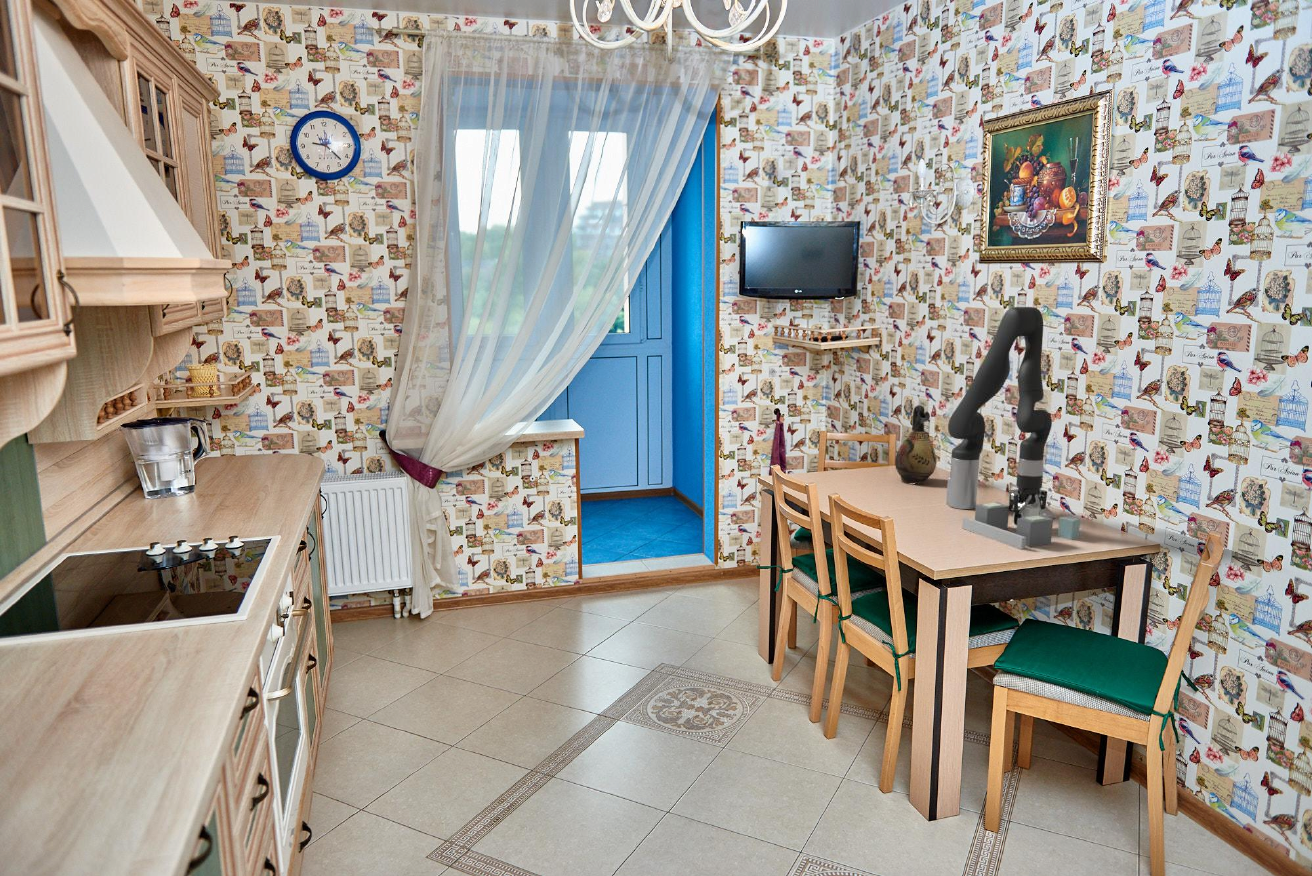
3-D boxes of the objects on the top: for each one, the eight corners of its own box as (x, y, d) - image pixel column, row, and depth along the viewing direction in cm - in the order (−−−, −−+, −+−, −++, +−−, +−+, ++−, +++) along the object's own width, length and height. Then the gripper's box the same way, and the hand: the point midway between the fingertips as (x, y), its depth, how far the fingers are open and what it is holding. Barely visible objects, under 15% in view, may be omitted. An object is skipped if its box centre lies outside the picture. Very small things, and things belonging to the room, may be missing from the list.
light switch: (1039, 516, 288) (1010, 488, 298) (1031, 530, 291) (1002, 501, 301) (1057, 514, 291) (1028, 485, 302) (1049, 527, 295) (1020, 498, 305)
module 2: (1057, 536, 272) (1059, 517, 271) (1064, 534, 274) (1066, 515, 273) (1071, 540, 268) (1072, 520, 267) (1078, 537, 270) (1080, 519, 269)
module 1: (1012, 526, 283) (1014, 504, 282) (1023, 524, 285) (1024, 502, 283) (1027, 531, 277) (1029, 508, 276) (1037, 529, 279) (1039, 507, 278)
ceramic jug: (940, 486, 338) (945, 409, 332) (899, 486, 338) (904, 408, 333) (927, 476, 354) (931, 402, 349) (888, 476, 354) (892, 402, 349)
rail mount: (962, 528, 279) (963, 504, 278) (993, 524, 285) (995, 500, 283) (1021, 549, 258) (1023, 523, 257) (1053, 544, 263) (1055, 519, 262)
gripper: (1037, 468, 284) (1033, 518, 287) (1003, 472, 278) (1000, 523, 281) (1056, 473, 277) (1052, 524, 280) (1022, 477, 271) (1018, 529, 274)
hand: (1026, 523), depth 280 cm, fingers open, 7 cm apart
